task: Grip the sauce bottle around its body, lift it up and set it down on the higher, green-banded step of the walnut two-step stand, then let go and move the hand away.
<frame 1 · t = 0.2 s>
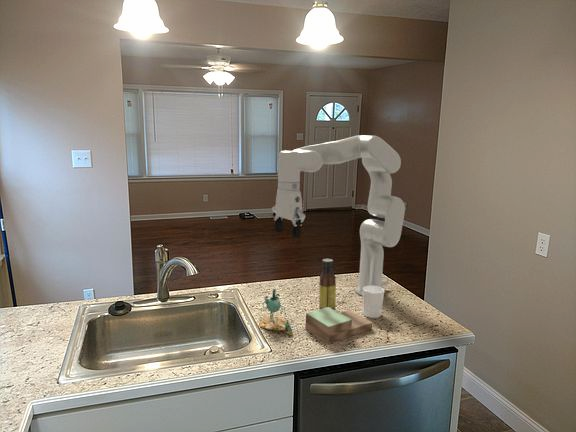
hand: (287, 234, 153), 31 cm above the counter, fingers open, 9 cm apart
teal toy figure: (274, 327, 149), on the counter
sauce bottle: (326, 310, 164), on the counter
stand: (338, 329, 148), on the counter
white cup: (371, 314, 161), on the counter
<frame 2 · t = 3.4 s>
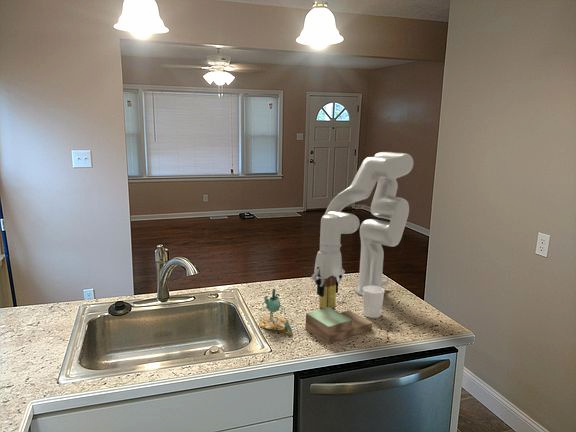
hand: (327, 293, 163), 7 cm above the counter, fingers closed on sauce bottle, 6 cm apart
sauce bottle: (326, 310, 164), on the counter, touching gripper
everything else where it was.
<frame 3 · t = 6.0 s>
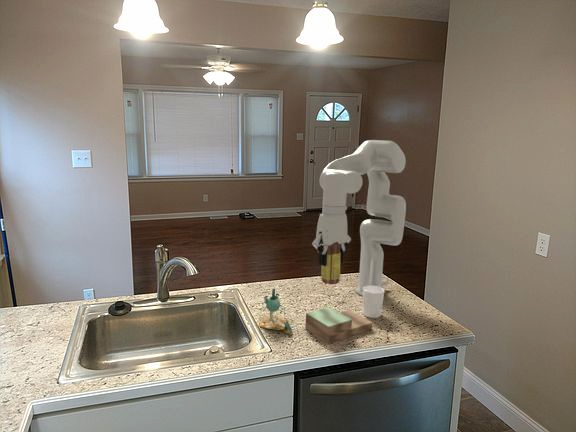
hand: (330, 263, 142), 24 cm above the counter, fingers closed on sauce bottle, 6 cm apart
sauce bottle: (329, 282, 143), point 17 cm above the counter, touching gripper
everything else where it was.
when the fingers open (14 cm above the counter, at t = 8.8 s): sauce bottle drops 1 cm, resting on stand.
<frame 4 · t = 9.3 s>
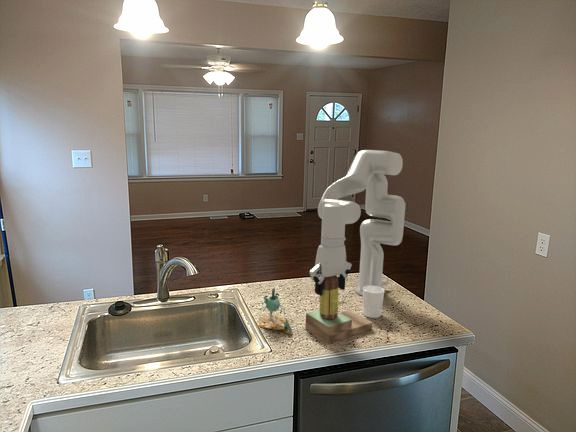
hand: (329, 291, 142), 15 cm above the counter, fingers open, 9 cm apart
sauce bottle: (327, 316, 144), point 6 cm above the counter, touching stand
everything else where it was.
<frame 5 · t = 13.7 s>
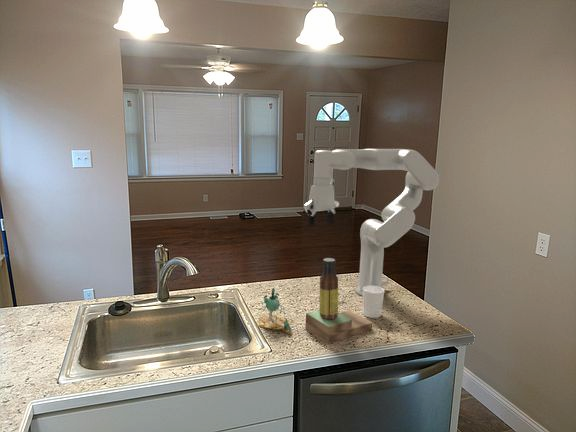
hand: (321, 224, 172), 30 cm above the counter, fingers open, 9 cm apart
nothing on the counter moved.
at the end: sauce bottle inside the target area on the stand (0.3 cm from its centre), point 5.8 cm above the stand's base; sauce bottle tilted 0°; the gripper is holding nothing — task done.
